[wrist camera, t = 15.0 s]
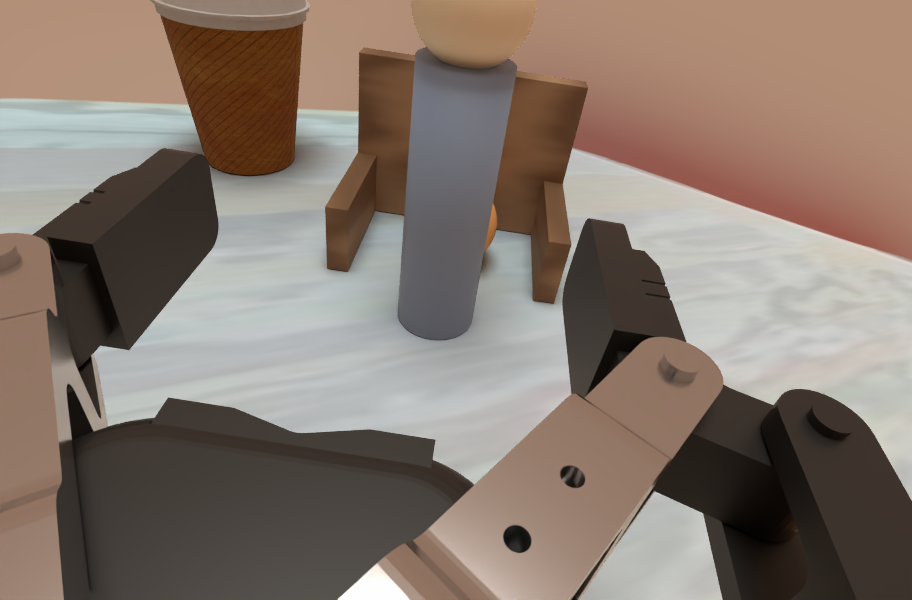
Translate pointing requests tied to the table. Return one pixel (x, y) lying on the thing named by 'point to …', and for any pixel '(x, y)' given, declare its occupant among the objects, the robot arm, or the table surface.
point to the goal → (519, 178)
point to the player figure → (455, 154)
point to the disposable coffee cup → (239, 77)
